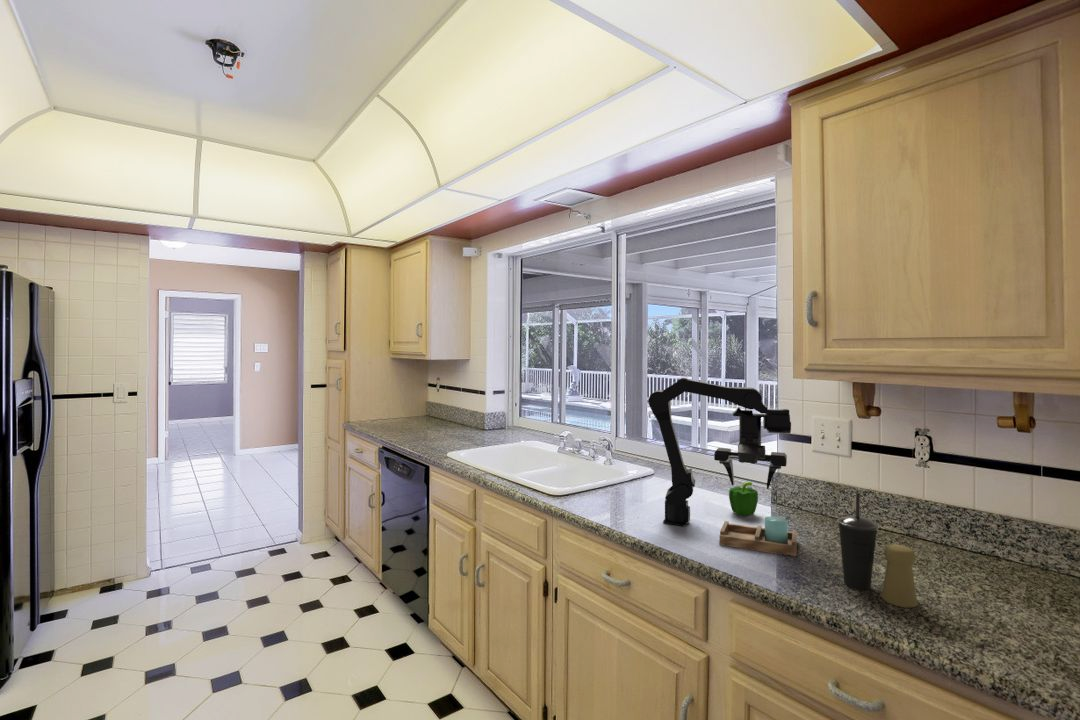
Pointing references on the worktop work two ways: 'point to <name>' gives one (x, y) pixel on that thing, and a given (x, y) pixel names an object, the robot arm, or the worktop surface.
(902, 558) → the cork
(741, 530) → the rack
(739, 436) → the robot arm
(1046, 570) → the worktop surface
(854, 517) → the drinking cup
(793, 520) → the worktop surface
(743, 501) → the bell pepper
